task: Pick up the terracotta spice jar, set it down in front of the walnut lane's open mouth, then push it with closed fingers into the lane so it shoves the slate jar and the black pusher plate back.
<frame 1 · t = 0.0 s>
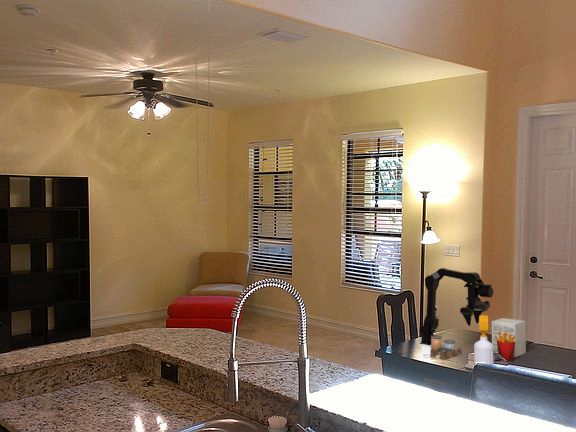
hand: (473, 324, 315), 15 cm above the table, tool pointing down, fingers open, 9 cm apart
pusher: (443, 352, 305), point 2 cm above the table, slide at 0.0 cm
french fries: (505, 361, 295), on the table
soap bottle: (483, 366, 286), on the table
supplement box: (508, 353, 311), on the table
terracotta jar: (436, 349, 321), on the table
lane: (447, 355, 308), on the table
slate jar: (449, 354, 310), on the table
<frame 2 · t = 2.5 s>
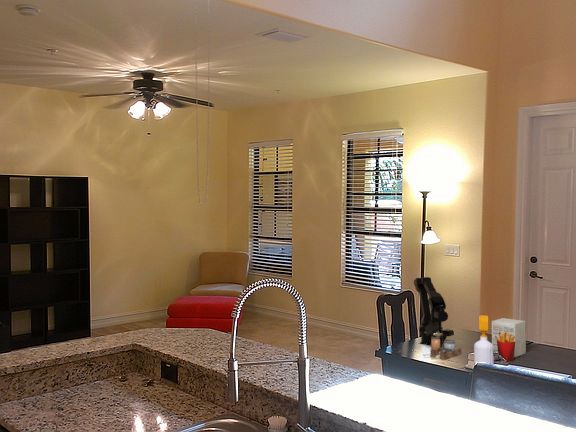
hand: (436, 346, 321), 2 cm above the table, tool pointing down, fingers closed on terracotta jar, 5 cm apart
terracotta jar: (436, 349, 321), on the table, touching gripper
everything else where it was.
when the fingers open (2 cm above the table, at t = 6.5 s): terracotta jar stays where it is, on the table.
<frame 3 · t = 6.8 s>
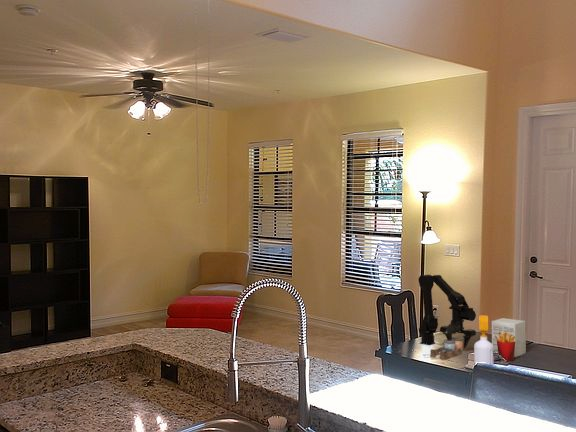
hand: (457, 346, 316), 2 cm above the table, tool pointing down, fingers open, 8 cm apart
terracotta jar: (457, 351, 316), on the table
everything else where it was.
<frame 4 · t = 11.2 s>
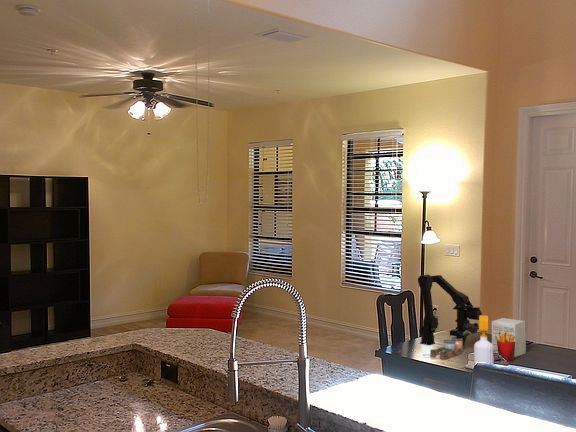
hand: (462, 346, 320), 2 cm above the table, tool pointing down, fingers closed
terracotta jar: (457, 351, 316), on the table, touching gripper
everything else where it was.
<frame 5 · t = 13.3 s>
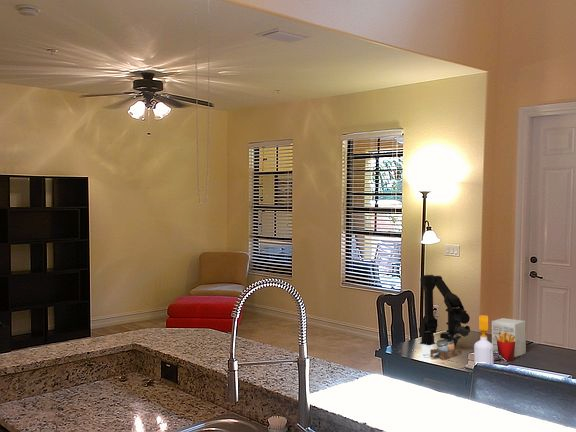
hand: (453, 349, 313), 2 cm above the table, tool pointing down, fingers closed
pusher: (436, 354, 300), point 2 cm above the table, slide at 6.5 cm, touching slate jar
terracotta jar: (450, 352, 310), point 1 cm above the table, tilted 18°, touching gripper, slate jar
slate jar: (444, 354, 305), point 1 cm above the table, tilted 20°, touching pusher, terracotta jar
everything else where it was.
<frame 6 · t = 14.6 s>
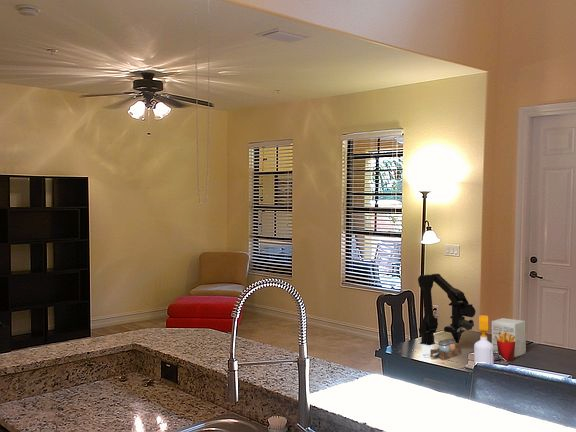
hand: (457, 343, 315), 5 cm above the table, tool pointing down, fingers closed
pusher: (436, 354, 300), point 2 cm above the table, slide at 6.6 cm
terracotta jar: (450, 353, 310), on the table, tilted 7°, touching slate jar
slate jar: (444, 355, 306), on the table, tilted 8°, touching terracotta jar
everything else where it was.
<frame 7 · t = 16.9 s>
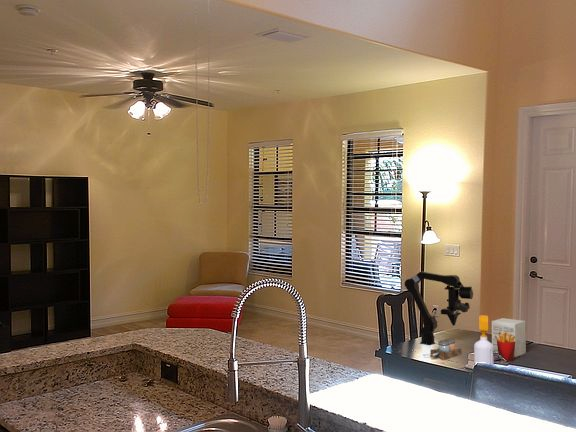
hand: (453, 325, 327), 12 cm above the table, tool pointing down, fingers closed
nothing on the table moved.
at the end: terracotta jar inside the target area (1.2 cm from its centre), on the table; pusher slide at 6.6 cm; terracotta jar tilted 7° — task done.
